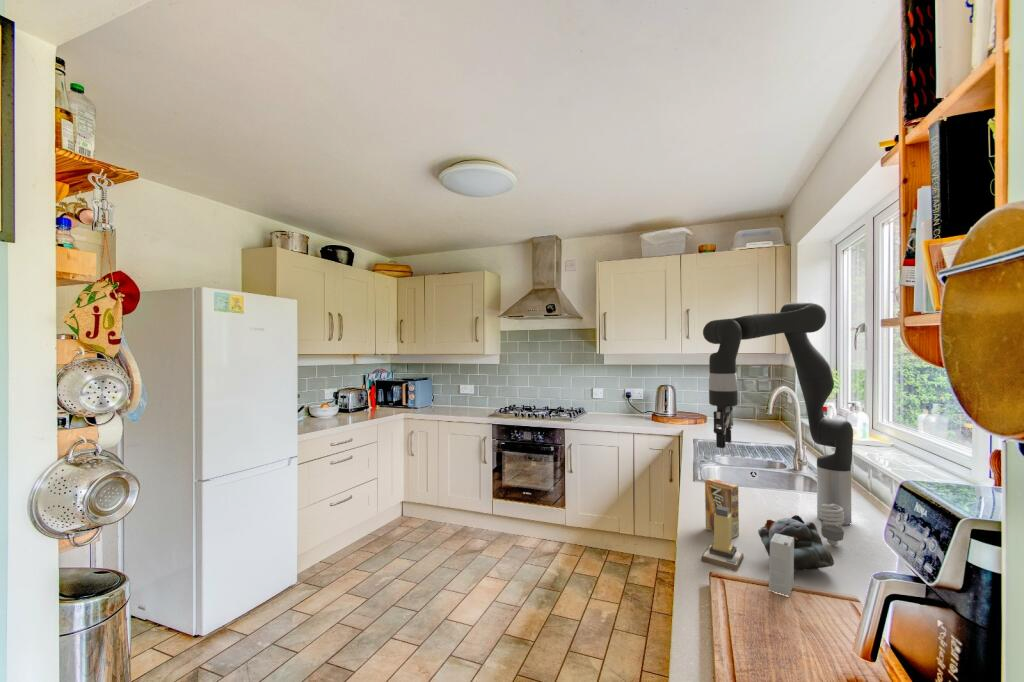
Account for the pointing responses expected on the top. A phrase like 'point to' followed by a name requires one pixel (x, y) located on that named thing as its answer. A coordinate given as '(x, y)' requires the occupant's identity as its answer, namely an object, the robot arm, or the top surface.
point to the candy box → (721, 503)
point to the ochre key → (724, 549)
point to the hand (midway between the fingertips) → (724, 444)
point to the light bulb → (832, 523)
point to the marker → (722, 528)
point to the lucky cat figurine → (799, 542)
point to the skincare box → (781, 564)
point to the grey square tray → (723, 558)
